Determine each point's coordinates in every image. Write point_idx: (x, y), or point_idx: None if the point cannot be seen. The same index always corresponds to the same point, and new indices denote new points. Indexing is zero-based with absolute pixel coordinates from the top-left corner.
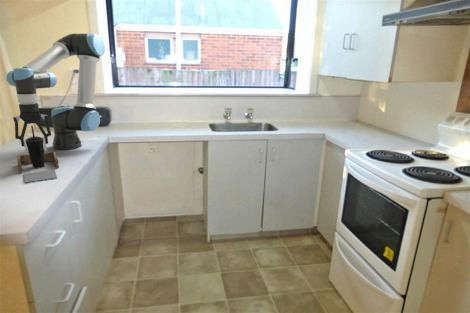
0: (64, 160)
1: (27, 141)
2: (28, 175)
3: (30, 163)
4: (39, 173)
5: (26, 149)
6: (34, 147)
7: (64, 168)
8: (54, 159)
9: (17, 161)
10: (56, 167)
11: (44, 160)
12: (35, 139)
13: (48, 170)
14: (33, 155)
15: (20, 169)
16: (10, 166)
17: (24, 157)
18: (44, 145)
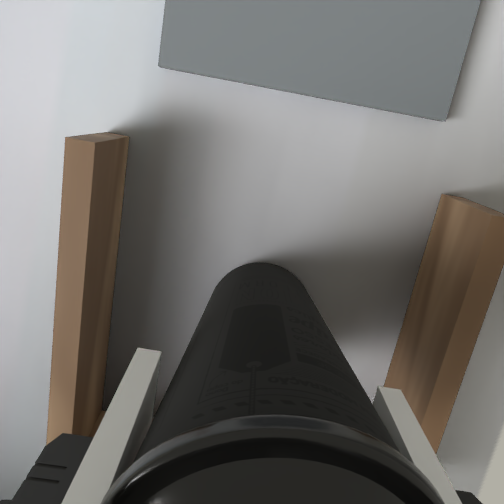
0: (14, 361)
1: (442, 499)
2: (434, 22)
3: None
4: (325, 18)
5: (404, 425)
6: (310, 364)
7: (57, 81)
8: (97, 319)
9: (476, 338)
10: (126, 136)
11: None
12: (278, 490)
13: (221, 70)
14: (318, 324)
15: (466, 201)
16: (446, 460)
17: None
18: (133, 405)
